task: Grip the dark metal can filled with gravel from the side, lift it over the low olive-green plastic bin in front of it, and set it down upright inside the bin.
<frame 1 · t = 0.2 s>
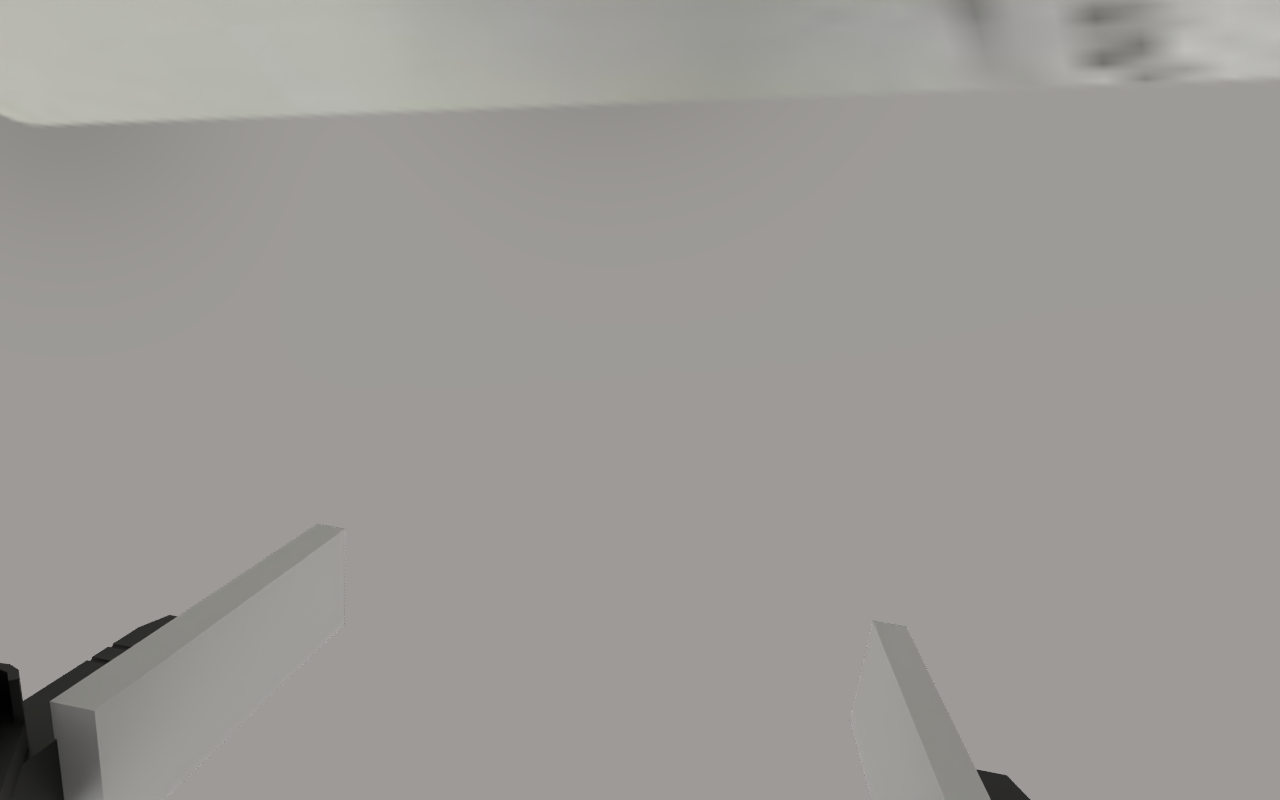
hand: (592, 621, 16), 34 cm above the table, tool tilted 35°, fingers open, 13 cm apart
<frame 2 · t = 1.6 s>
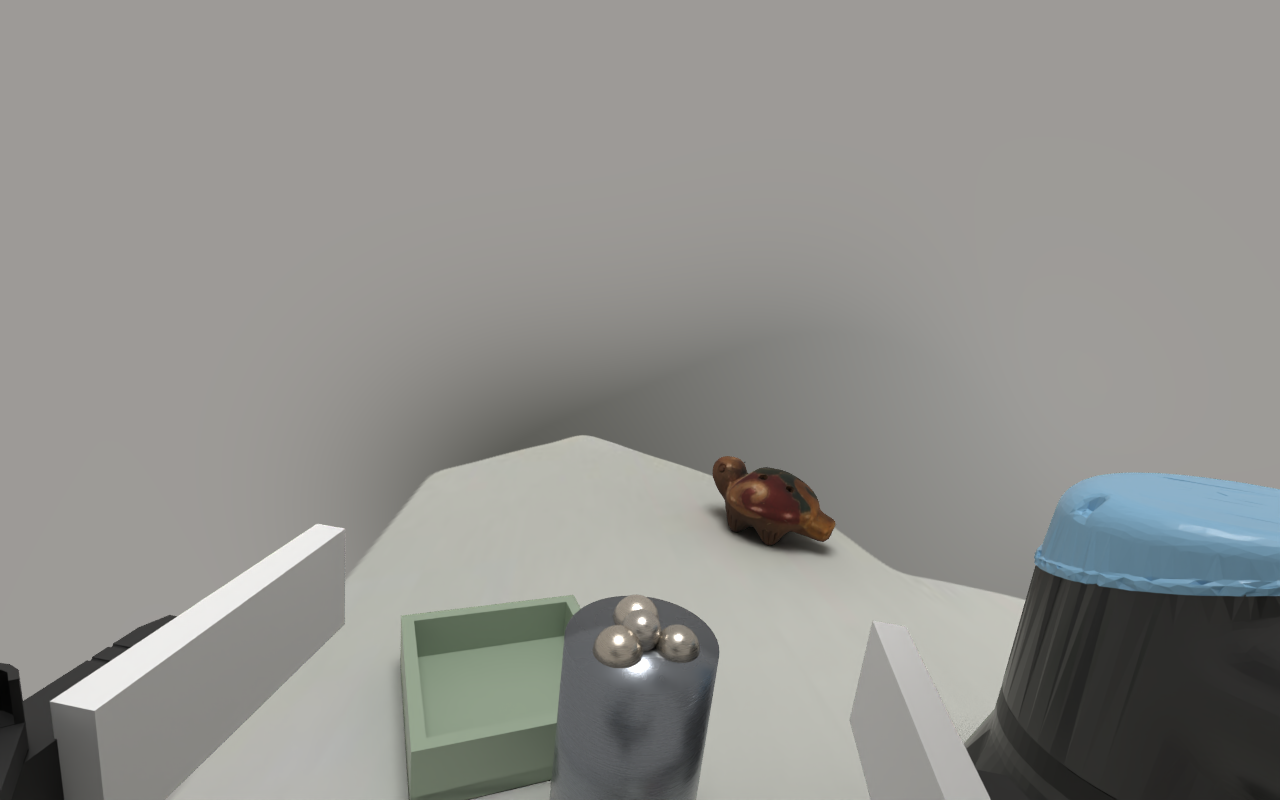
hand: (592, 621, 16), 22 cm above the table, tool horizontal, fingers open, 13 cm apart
decorative turtle: (764, 534, 74), on the table
bin: (504, 709, 42), on the table
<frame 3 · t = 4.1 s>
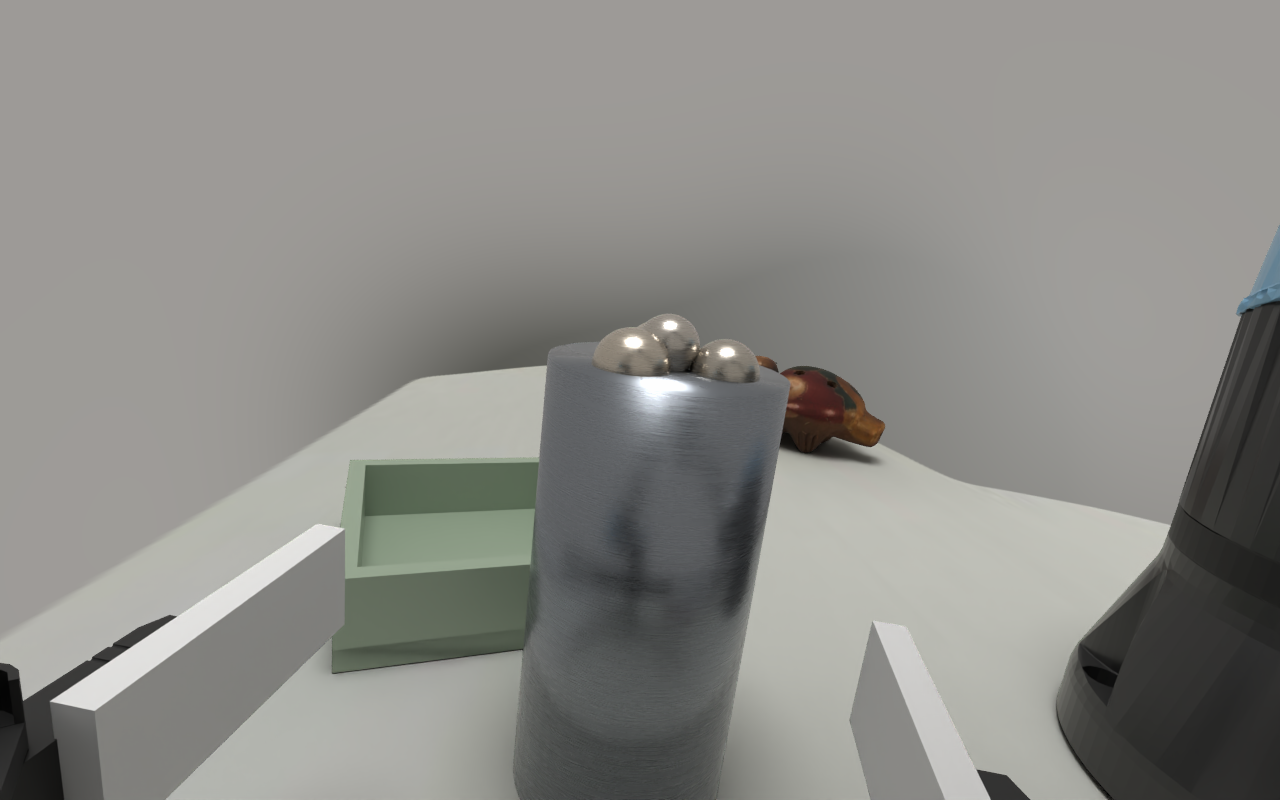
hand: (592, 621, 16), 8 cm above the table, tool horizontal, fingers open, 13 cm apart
decorative turtle: (799, 445, 63), on the table
bin: (478, 575, 32), on the table
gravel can: (616, 762, 22), on the table
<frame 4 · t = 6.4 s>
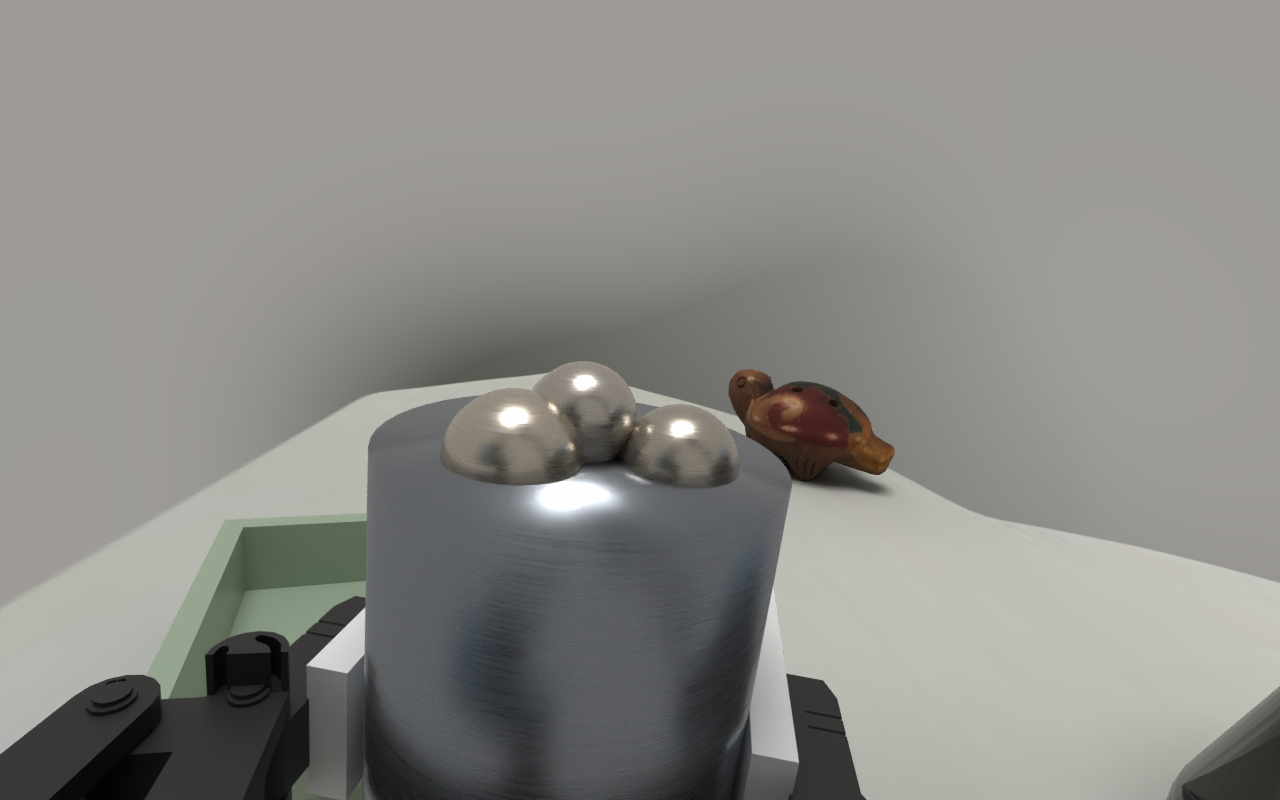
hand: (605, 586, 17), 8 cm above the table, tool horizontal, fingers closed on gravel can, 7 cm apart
decorative turtle: (796, 470, 56), on the table
bin: (382, 675, 25), on the table
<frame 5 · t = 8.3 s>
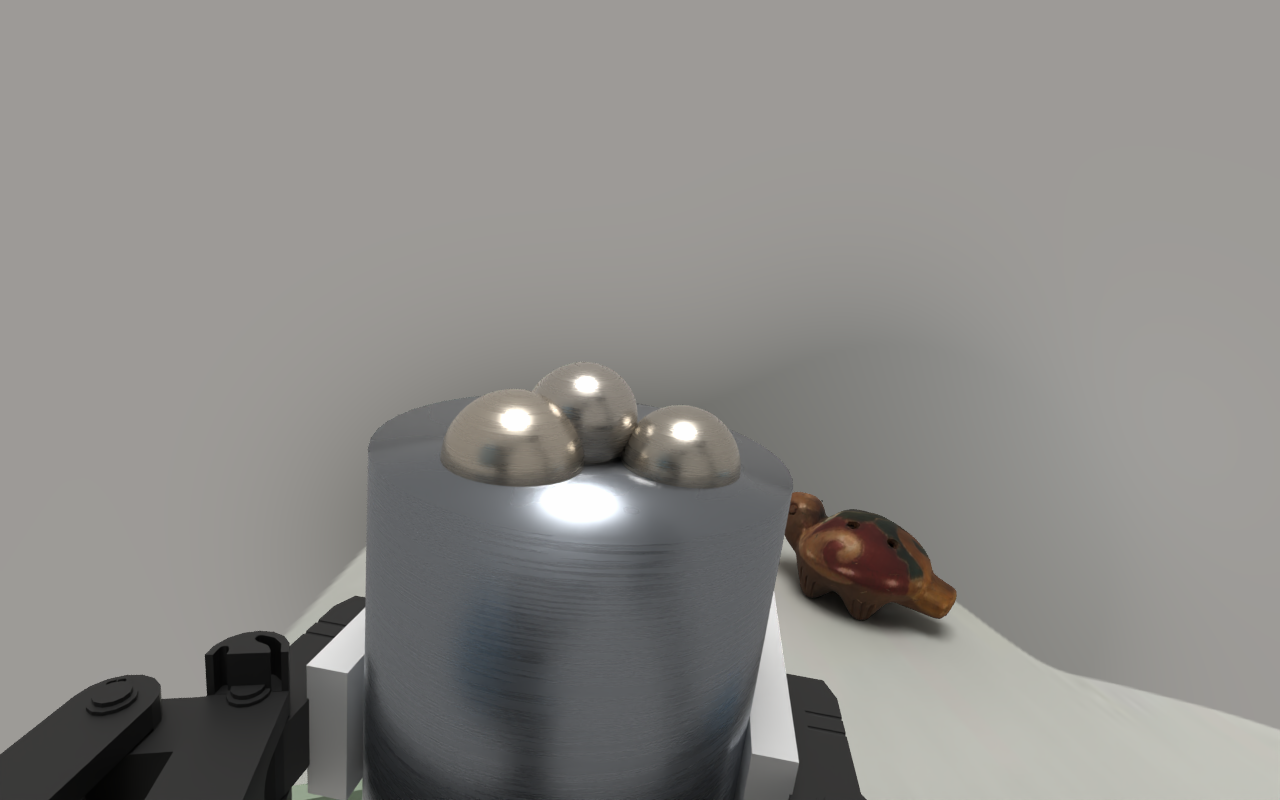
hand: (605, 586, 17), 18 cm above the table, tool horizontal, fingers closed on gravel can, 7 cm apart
decorative turtle: (849, 601, 54), on the table
when the fingers open (11 cm above the table, at t = 10.6 s): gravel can drops 1 cm, resting on bin.
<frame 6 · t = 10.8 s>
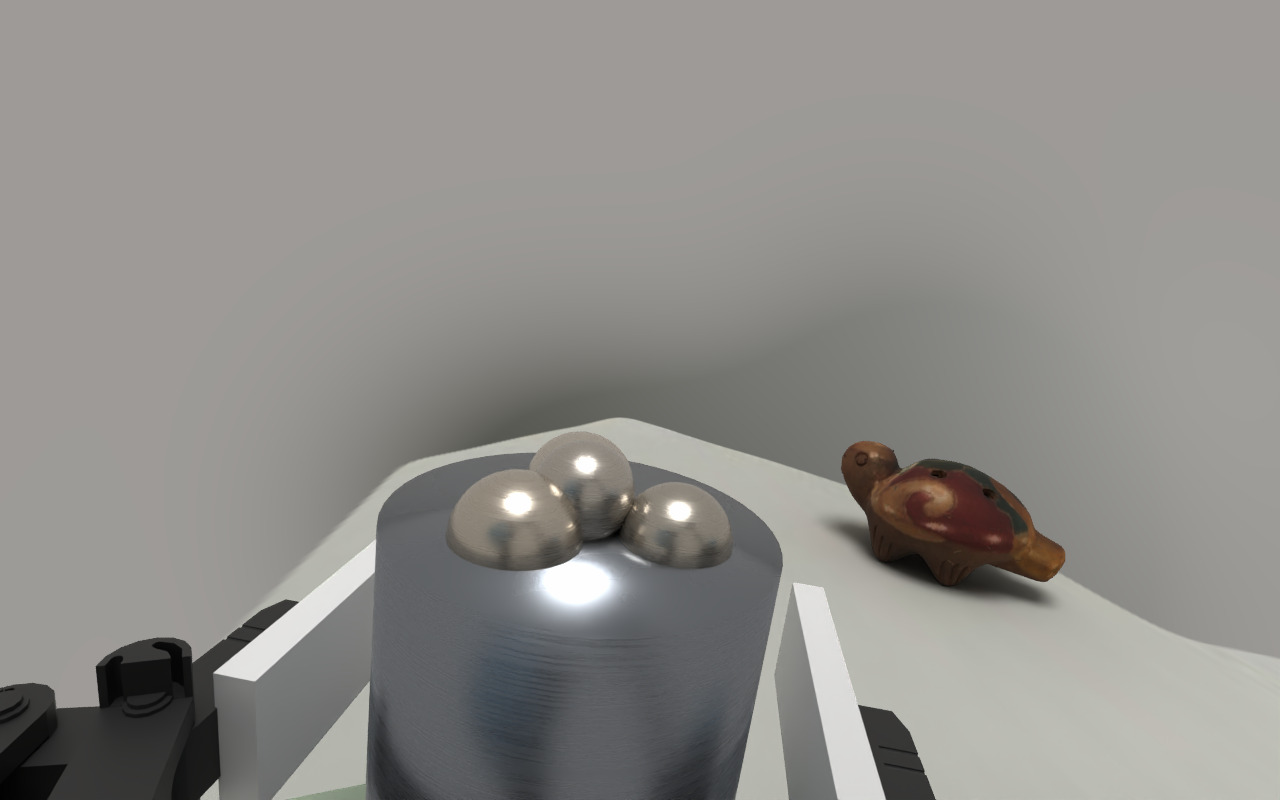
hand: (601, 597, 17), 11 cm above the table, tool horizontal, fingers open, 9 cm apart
decorative turtle: (929, 566, 46), on the table
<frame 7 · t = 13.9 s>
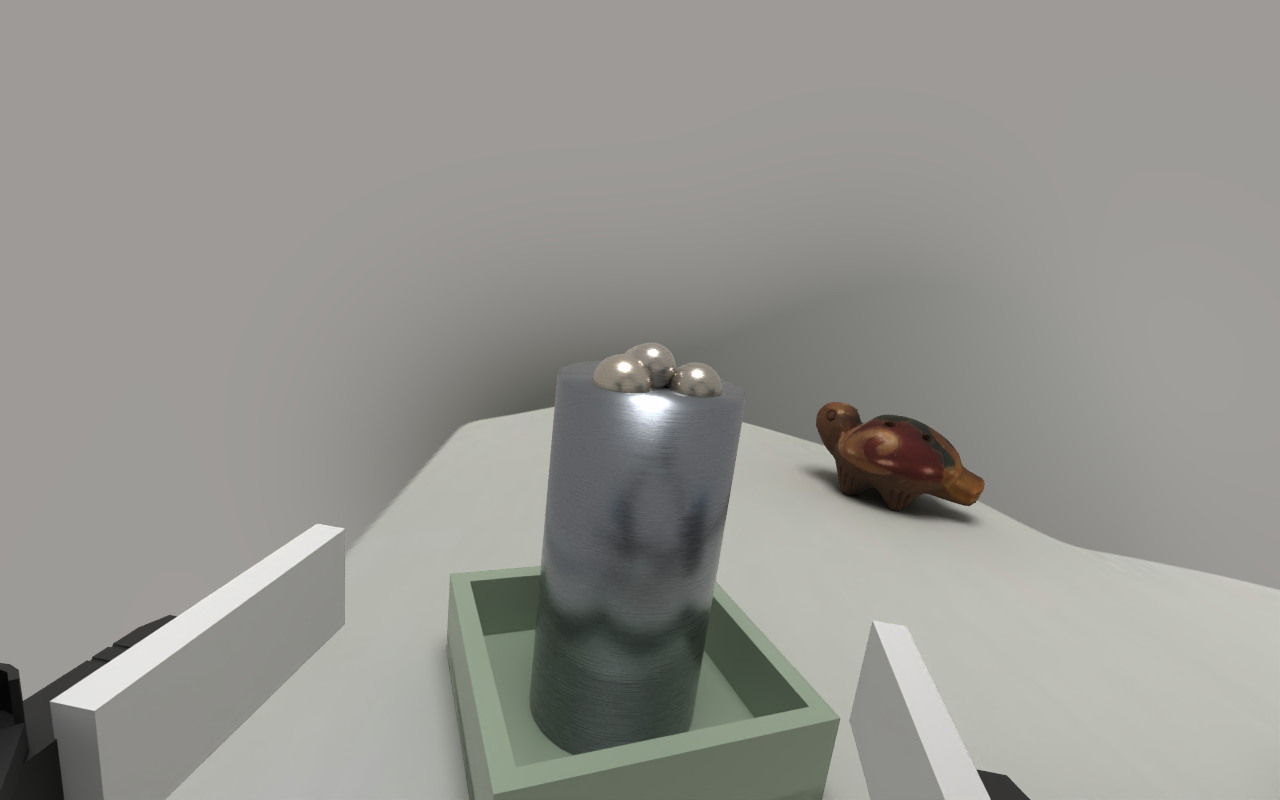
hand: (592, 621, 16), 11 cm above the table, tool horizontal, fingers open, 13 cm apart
decorative turtle: (884, 499, 59), on the table
bin: (611, 718, 27), on the table
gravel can: (612, 698, 27), point 1 cm above the table, touching bin
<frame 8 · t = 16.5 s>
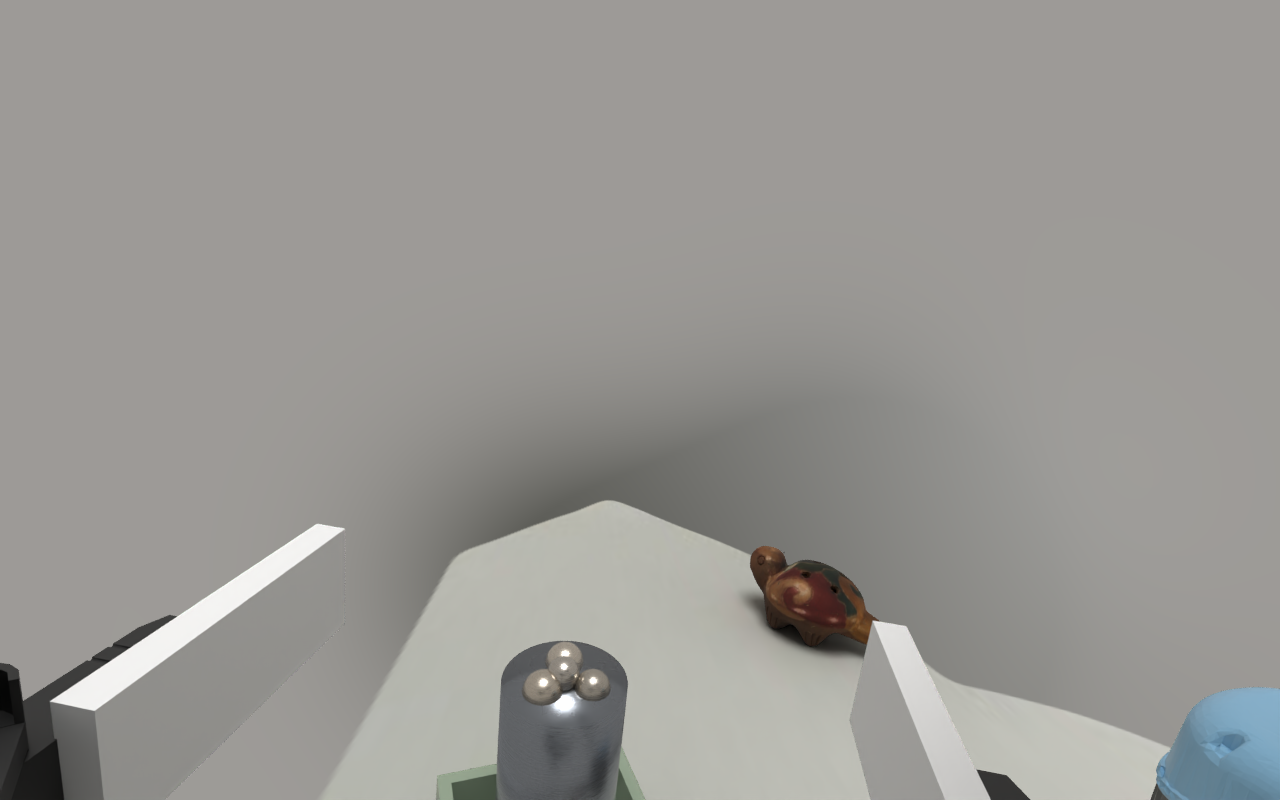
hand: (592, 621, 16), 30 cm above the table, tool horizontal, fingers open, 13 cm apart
decorative turtle: (805, 631, 70), on the table
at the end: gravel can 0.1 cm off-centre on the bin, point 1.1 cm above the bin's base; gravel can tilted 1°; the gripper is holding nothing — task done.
